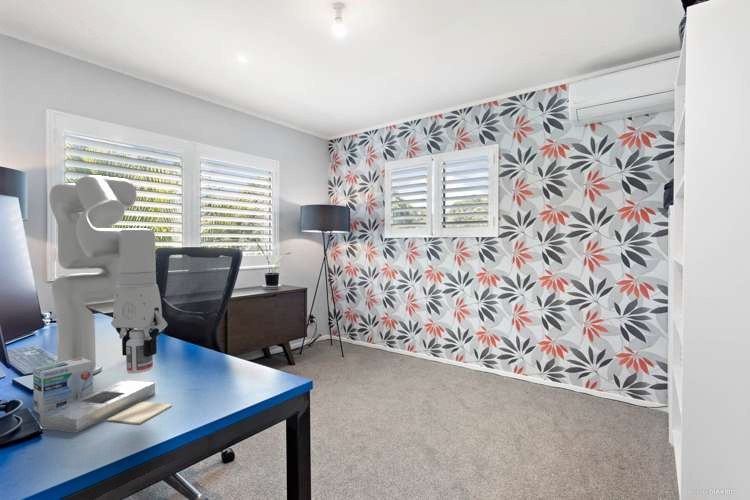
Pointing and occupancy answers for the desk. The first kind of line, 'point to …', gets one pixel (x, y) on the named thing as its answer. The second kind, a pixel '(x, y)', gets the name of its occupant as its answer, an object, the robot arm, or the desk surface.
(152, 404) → the wooden pad
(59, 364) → the light bulb box
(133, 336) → the pill bottle
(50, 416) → the white slotted slab
